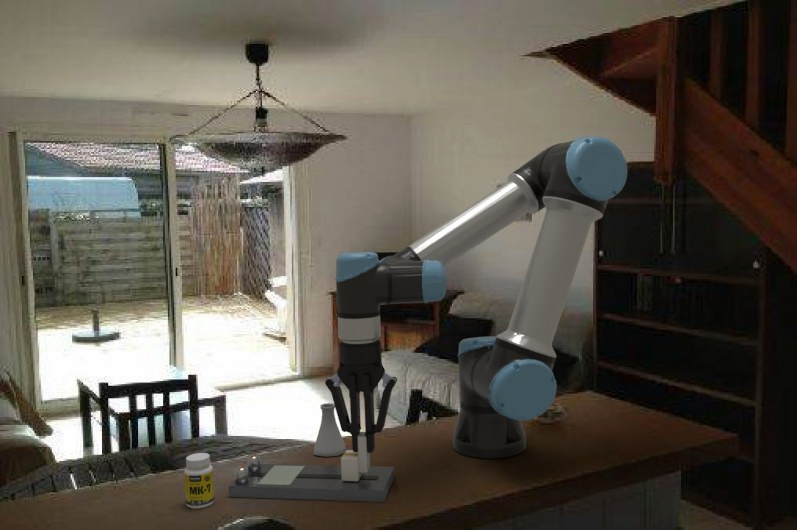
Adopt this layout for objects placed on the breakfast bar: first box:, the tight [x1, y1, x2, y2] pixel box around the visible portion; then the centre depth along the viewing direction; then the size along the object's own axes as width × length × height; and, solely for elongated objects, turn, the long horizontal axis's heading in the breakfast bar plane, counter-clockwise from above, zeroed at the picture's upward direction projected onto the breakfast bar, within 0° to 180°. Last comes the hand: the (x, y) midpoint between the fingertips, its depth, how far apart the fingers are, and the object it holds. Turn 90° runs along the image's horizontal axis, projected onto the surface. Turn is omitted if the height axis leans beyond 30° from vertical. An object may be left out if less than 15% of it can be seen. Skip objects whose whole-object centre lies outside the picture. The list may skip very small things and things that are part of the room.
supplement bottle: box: [184, 452, 215, 510], centre depth 119 cm, size 5×5×8 cm
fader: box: [340, 449, 363, 481], centre depth 124 cm, size 3×4×4 cm
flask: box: [312, 402, 347, 458], centre depth 143 cm, size 7×7×10 cm
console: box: [228, 453, 395, 503], centre depth 125 cm, size 28×11×5 cm, turn 81°
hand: (364, 469), depth 123 cm, fingers closed
